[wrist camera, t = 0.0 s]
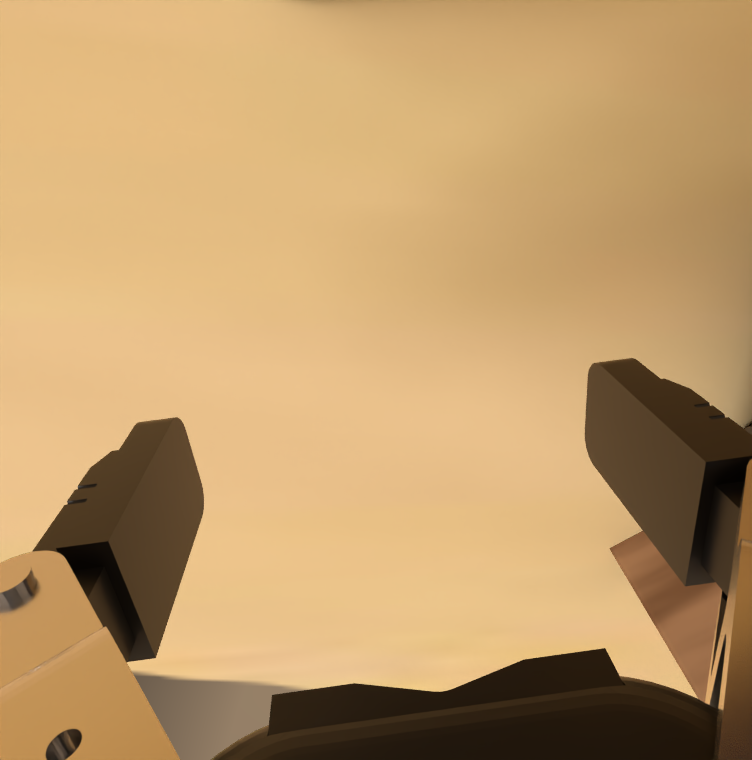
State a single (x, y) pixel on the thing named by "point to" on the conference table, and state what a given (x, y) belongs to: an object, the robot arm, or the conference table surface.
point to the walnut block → (673, 607)
